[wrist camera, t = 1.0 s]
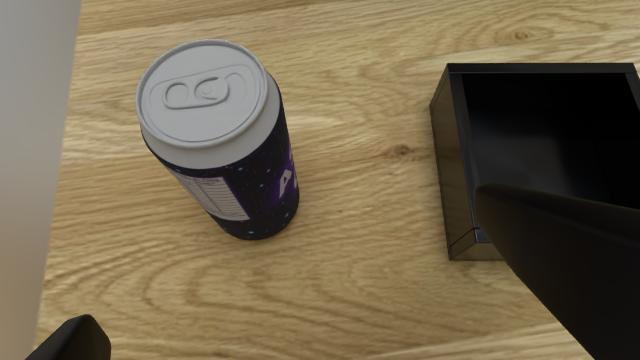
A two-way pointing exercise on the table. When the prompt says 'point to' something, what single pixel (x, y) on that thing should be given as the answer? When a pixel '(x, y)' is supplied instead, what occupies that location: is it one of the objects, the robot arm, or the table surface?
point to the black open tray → (533, 138)
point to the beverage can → (221, 134)
